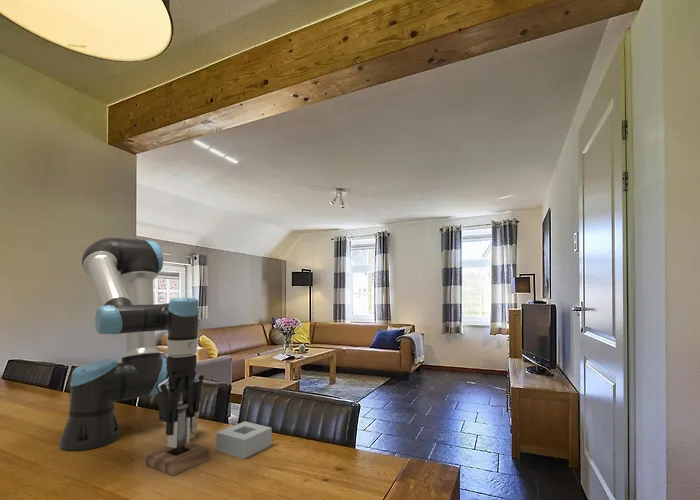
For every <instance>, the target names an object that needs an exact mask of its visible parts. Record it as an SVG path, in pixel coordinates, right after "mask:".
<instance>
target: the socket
mask: <svg viewBox="0 0 700 500" xmlns="http://www.w3.org/2000/svg"><path fill="white" fill-rule="evenodd" d="M272 429H273V428H272V427H270V426H265V425H261V424H257V423H254V422H250V421H242V422H240V423H238V424H235V425H232V426H229V427H227V428H224V429H222V430H219V431H217V432H216V435H215V439H216V442H215V451H216V452H219V453H223V454H227V455H228V456H229V455H230V456H232V457H236V458H240V459H243V460H244V459H247V458H249V457H251V456H253V455H255V454H257V453H260V452H261V451H263V450H265V449H266V448H269V447H271V446H272V443H273V442H272V439H273V438H272V436H273V435H272V432H273V431H272Z"/></svg>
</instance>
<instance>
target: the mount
mask: <svg viewBox="0 0 700 500" xmlns="http://www.w3.org/2000/svg"><path fill="white" fill-rule="evenodd" d="M209 460H210V447H208V446H204V445H201V444H198V443H194V442H192V441H189V443H185V453H182V454H180V455H177V456H175V455H172V447H169V446H168V445H167V446H164V447H162V448H158V449H156V450H153V451H150V452H148V453H146V460H145V466H146V467H147V468H151V469H153V470H156V471H159V472H161V473H163V474H166V475H170V476H171V477H174V476H176V475H179V474H180V473H183V472H184V471H187V470H189V469H192V468H193V467H196V466H198V465H200V464H202V463H205V462H206V461H209Z"/></svg>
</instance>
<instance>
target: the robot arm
mask: <svg viewBox="0 0 700 500" xmlns="http://www.w3.org/2000/svg"><path fill="white" fill-rule="evenodd" d="M163 263H164V254H163V250H162V247H161V246H160V245H159V243H158V242H156V241H154V240H147V239H135V238H123V237H120V238H119V237H105V238H101V239H99V240H96V241H95V242H92V243H91V244H90V245H89V246H87V248H86V249H85V250H84V252H83V254H82V258H81V265H82V269H83V271H84V272H85V274H87V275H88V276H89V277H90V281H91V284H92V286H93V288H94V292H95V295H96V298H97V301H98V305H99V307H98V308H97V309H96V312H95V317H94V322H95V330H96V332H97V333H98V334H100V335H120V334H126V352H125V353H124V354H123V355H122V357H121V362H117V360H116V359H115V358H106V359H98V360H93V361H90V362H86V363H84V364H80V365H79V366H77V367H75V368H74V369H73V371H72V373H71V379H70V383H69V385H70V392H69V393H70V394H69V395H70V397H69V408H68V409H69V411H68V419H67V422H66V424H65V426H64V428H63V431H62V432H61V436H60V439H59V440H60V441H59V448H60V449H61V450H65V451H84V450H91V449H96V448H101V447H103V446H107V445H109V444H112V443H114V442H115V441H117V440H118V439H119V438H120V426H119V423H118V419H117V416H116V413H115V403H116V402H120V401H126V400H132V399H138V398H139V399H140V398H143V397H149V396H153V395H158V419H159V421H161V422H162V423H163V422H166V427H165V434H166V435H167V446H169V447H172V448H176V447H177V427H178V422H177V421H175V418H176V412H177V406H178V402H179V400H180V395H182V396H181V398H182V401H183V402H186V403H189V406H188V408H187V409H186V432H185V443H189V442H190V439H189V436H190V428H191V427H192V417H194V416H195V414H194V413H196V412H198V411H199V405H200V406H201V392H202V384H203V381H204V378H205V376H204V375H201V374H198V373H197V372H196V370H195V369H196V368H197V359H198V357H197V354H196V353H197V352H198V331H199V330H198V329H199V328H198V327H199V313H200V309H199V299H197V298H195V297H173V298H171V299H170V300H169V302H168V303H161V304H160V303H158V304H157V303H156V304H155V303H154V301H155V300H154V298H155V297H154V280H155V279H156V278H157V277H158V273H160V272H162V269H163V265H164V264H163ZM124 282H125V284H124ZM158 331H159V332H160V331H161V332H162V331H167V343H166V345H167V346H166V354H167V355H168V356H167V357H166V358H165V357H162V354H161V351H160V350H159V349H157V347H156V334H155V333H156V332H158ZM199 412H200V411H199Z"/></svg>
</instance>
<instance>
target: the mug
mask: <svg viewBox="0 0 700 500" xmlns="http://www.w3.org/2000/svg"><path fill="white" fill-rule="evenodd" d="M180 402H183V400H181V401H180ZM200 409H201V404H200V405H199V411H198V412H196V413H194V414H195V416H194V417H192V427H191V428H190V436H189V440H192V439H194V438H195V437H196V435H197V428H198V423H199V418H200V417H199V416H200ZM162 423H163V425H164V427H165V428H166V422H163V421H162Z"/></svg>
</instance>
